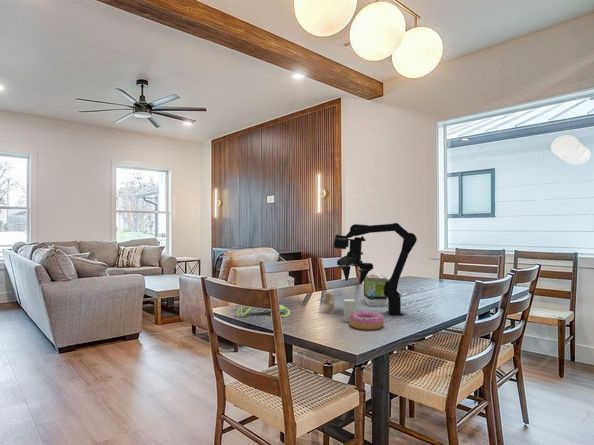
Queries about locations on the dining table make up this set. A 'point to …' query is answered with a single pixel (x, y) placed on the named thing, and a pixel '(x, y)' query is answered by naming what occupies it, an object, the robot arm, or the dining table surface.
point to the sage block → (348, 308)
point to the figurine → (265, 311)
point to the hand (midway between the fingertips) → (353, 282)
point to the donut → (366, 320)
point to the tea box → (374, 290)
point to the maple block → (328, 302)
